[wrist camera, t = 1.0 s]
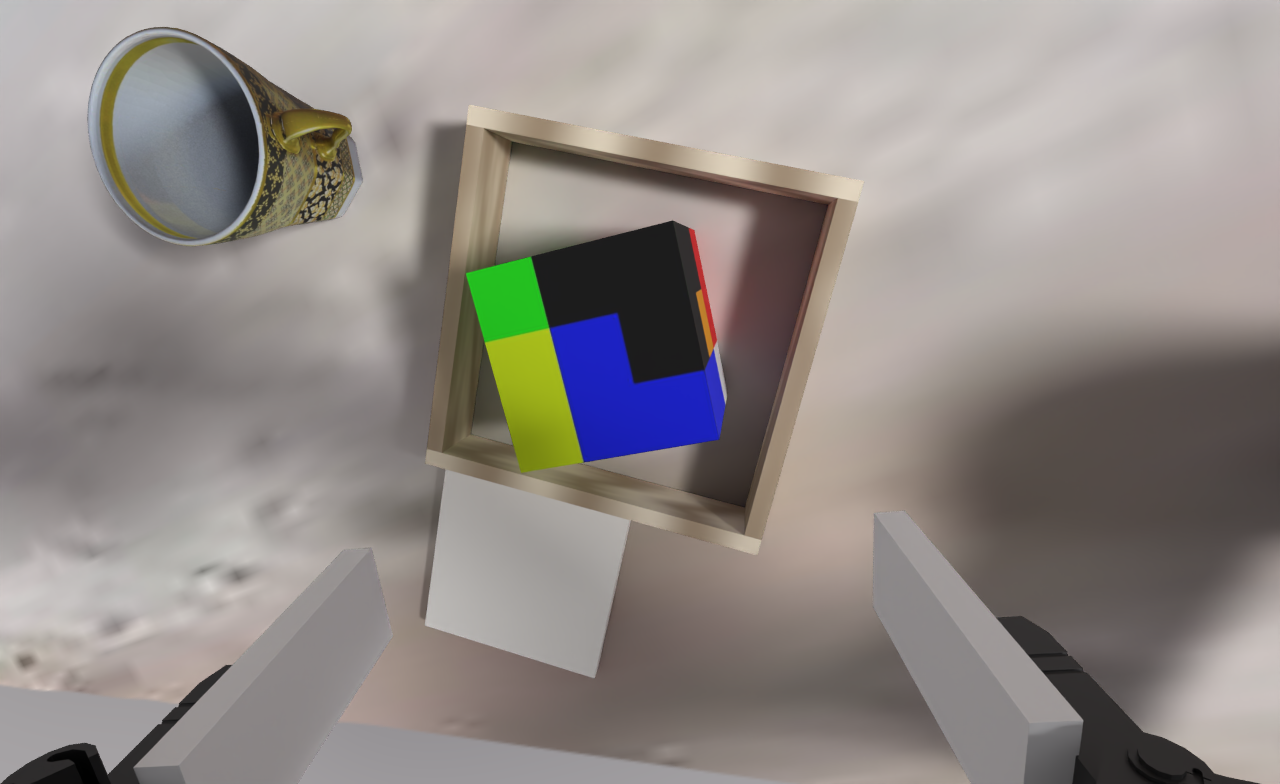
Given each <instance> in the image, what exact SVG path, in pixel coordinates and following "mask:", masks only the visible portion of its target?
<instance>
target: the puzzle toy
mask: <svg viewBox="0 0 1280 784" xmlns="http://www.w3.org/2000/svg"><path fill="white" fill-rule="evenodd" d="M466 276H467V280H468V283H469V287H470V290H471V294H472V298H473V301H474V305H475V308H476V312H477V316H478V319H479V323H480V327H481V330H482V334H483V337H484V341H485V345H486V348H487V352H488V356H489V359H490V363H491V366H492V370H493V374H494V377H495V381H496V384H497V388H498V392H499V395H500V399H501V403H502V406H503V410H504V413H505V417H506V421H507V424H508V428H509V431H510V435H511V439H512V442H513V446H514V450H515V453H516V457H517V460H518V464H519V468H520V471H521V473H524V472H530V471H536V470H542V469H548V468H554V467H560V466H566V465H572V464H578V463H583V462H589V461H595V460H601V459H607V458H613V457H619V456H625V455H631V454H637V453H643V452H649V451H655V450H661V449H667V448H673V447H679V446H685V445H691V444H697V443H702V442H708V441H714V440H720V434H721V428H722V423H723V417H724V411H725V406H726V400H727V394H728V391H727V386H726V382H725V377H724V372H723V367H722V362H721V357H720V353H719V348H718V343H717V338H716V333H715V328H714V324H713V319H712V314H711V309H710V304H709V299H708V295H707V290H706V285H705V280H704V275H703V270H702V265H701V261H700V256H699V251H698V246H697V241H696V236H695V232H694V230H692V229H690V228H688V227H686V226H684V225H682V224H679V223H677V222H675V221H669V222H665V223H662V224H658V225H654V226H650V227H646V228H642V229H638V230H634V231H630V232H626V233H622V234H618V235H614V236H610V237H606V238H602V239H599V240H595V241H591V242H587V243H583V244H579V245H575V246H571V247H567V248H563V249H559V250H555V251H551V252H547V253H543V254H540V255H536V256H532V257H528V258H524V259H520V260H516V261H512V262H508V263H504V264H500V265H496V266H492V267H488V268H484V269H480V270H477V271H473V272H469V273H466Z"/></svg>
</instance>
